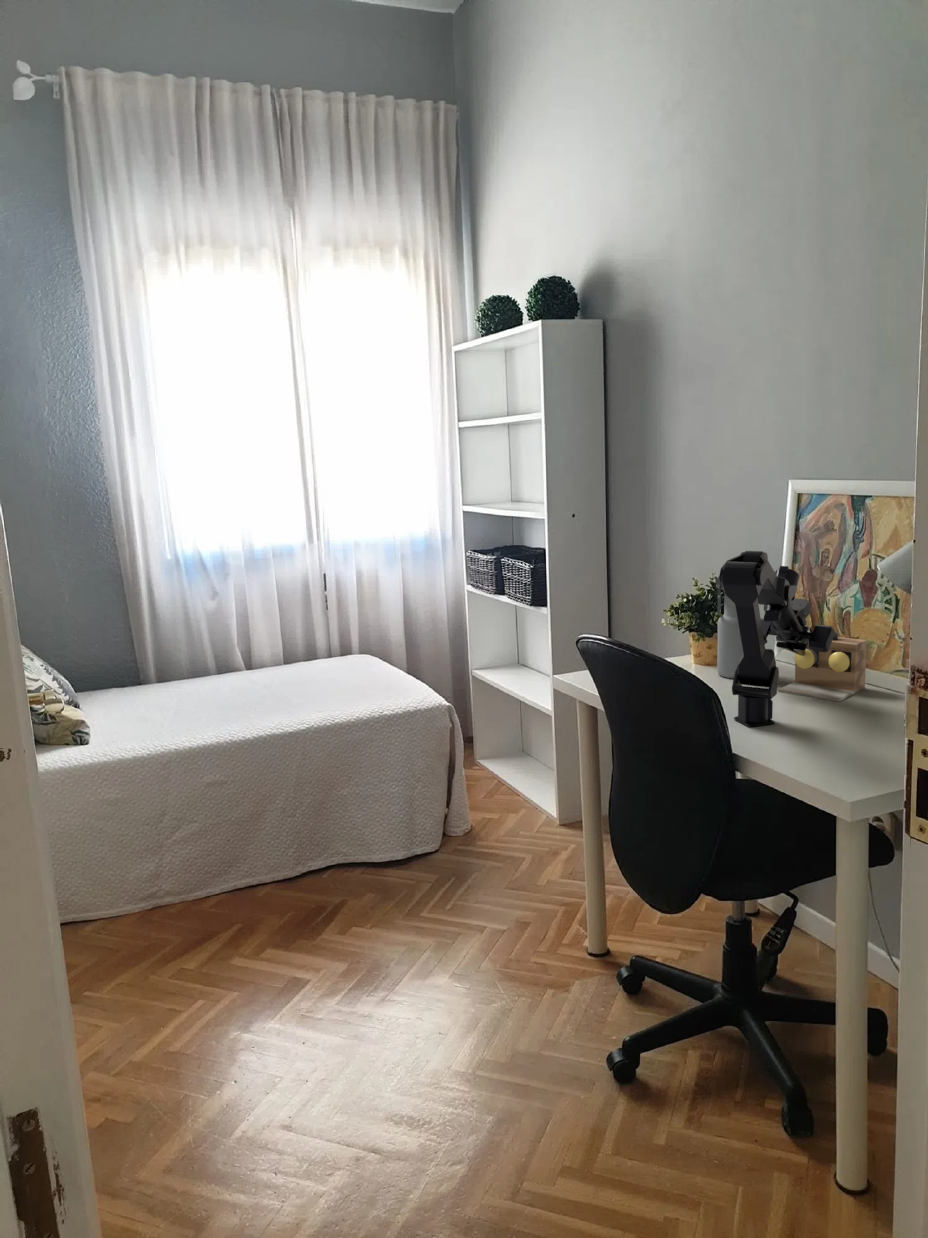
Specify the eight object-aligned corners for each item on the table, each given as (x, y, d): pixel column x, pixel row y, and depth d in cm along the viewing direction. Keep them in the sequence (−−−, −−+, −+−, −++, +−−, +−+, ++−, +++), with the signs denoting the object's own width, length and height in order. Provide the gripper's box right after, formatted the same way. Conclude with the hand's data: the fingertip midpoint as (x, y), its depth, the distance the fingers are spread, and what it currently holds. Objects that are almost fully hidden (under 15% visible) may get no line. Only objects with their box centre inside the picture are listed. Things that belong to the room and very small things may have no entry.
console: (839, 701, 223) (840, 644, 220) (778, 691, 233) (779, 636, 231) (864, 688, 233) (866, 633, 230) (805, 679, 243) (807, 626, 241)
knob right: (847, 673, 227) (848, 653, 226) (828, 670, 231) (828, 651, 230) (861, 667, 233) (862, 647, 232) (842, 664, 236) (842, 645, 235)
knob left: (812, 670, 232) (813, 650, 231) (794, 667, 235) (794, 648, 234) (827, 663, 237) (827, 644, 236) (808, 661, 241) (809, 642, 240)
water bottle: (714, 678, 248) (715, 571, 242) (716, 669, 257) (717, 566, 251) (755, 680, 245) (757, 571, 239) (756, 670, 254) (757, 566, 248)
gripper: (832, 592, 219) (851, 631, 229) (757, 586, 232) (778, 623, 242) (816, 632, 215) (836, 670, 225) (741, 623, 228) (763, 659, 238)
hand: (803, 654), depth 233 cm, fingers closed, pressing on knob left
